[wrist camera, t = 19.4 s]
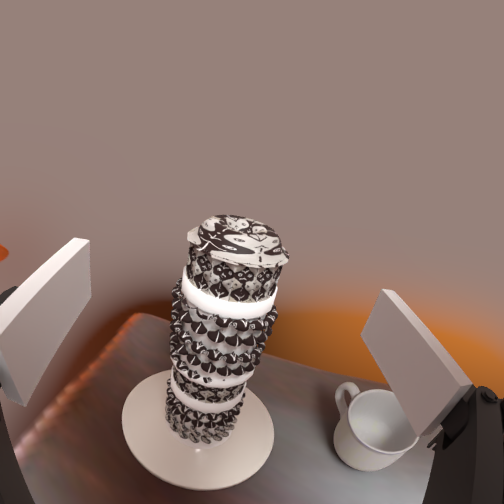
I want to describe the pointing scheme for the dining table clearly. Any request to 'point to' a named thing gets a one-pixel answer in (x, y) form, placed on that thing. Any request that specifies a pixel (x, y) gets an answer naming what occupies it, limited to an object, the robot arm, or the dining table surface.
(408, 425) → the teacup
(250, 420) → the candle plate
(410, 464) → the dining table surface
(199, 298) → the decorative candle
